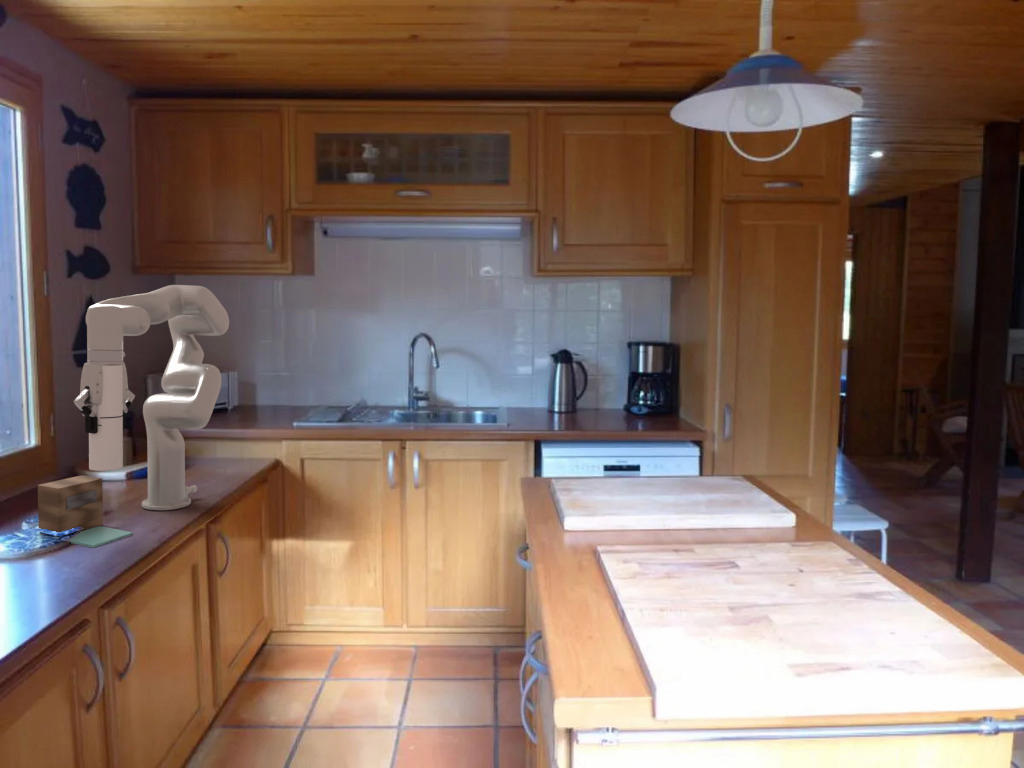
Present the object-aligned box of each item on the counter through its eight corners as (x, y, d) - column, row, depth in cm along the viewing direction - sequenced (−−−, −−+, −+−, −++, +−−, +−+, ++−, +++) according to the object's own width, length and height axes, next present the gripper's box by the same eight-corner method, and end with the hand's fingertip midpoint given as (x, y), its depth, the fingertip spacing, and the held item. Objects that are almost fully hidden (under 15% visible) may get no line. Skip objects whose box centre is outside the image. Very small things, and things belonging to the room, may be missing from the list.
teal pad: (100, 528, 186) (100, 525, 186) (132, 534, 182) (132, 532, 182) (59, 540, 175) (59, 538, 175) (93, 547, 172) (93, 545, 172)
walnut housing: (81, 520, 191) (80, 474, 190) (104, 524, 189) (103, 478, 187) (37, 532, 180) (35, 484, 179) (60, 537, 177) (59, 488, 176)
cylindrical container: (121, 470, 176) (121, 365, 174) (87, 471, 174) (86, 365, 171) (124, 464, 183) (123, 363, 181) (91, 465, 180) (90, 363, 178)
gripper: (123, 355, 185) (123, 425, 187) (60, 357, 169) (61, 434, 170) (146, 357, 183) (146, 427, 184) (85, 359, 166) (85, 437, 168)
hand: (105, 430), depth 177 cm, fingers closed on cylindrical container, 7 cm apart
